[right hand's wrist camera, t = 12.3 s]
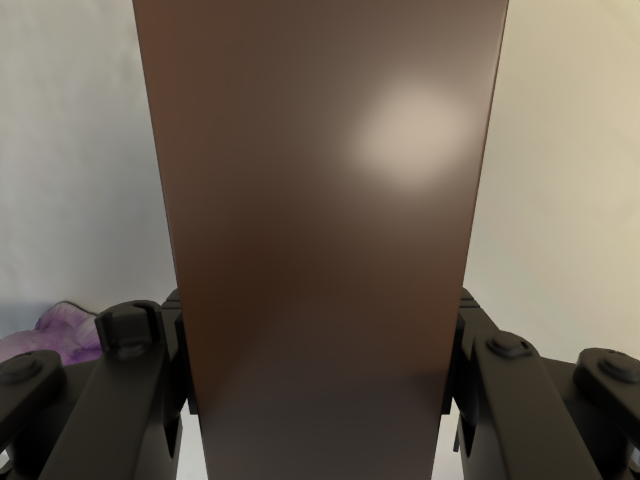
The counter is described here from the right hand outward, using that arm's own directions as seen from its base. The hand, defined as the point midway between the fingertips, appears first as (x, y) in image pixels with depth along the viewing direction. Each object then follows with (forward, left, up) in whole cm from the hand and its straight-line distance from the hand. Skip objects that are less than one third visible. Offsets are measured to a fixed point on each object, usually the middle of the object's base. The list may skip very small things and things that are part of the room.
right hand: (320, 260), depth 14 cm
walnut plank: (0, -10, 0) cm, 10 cm away
